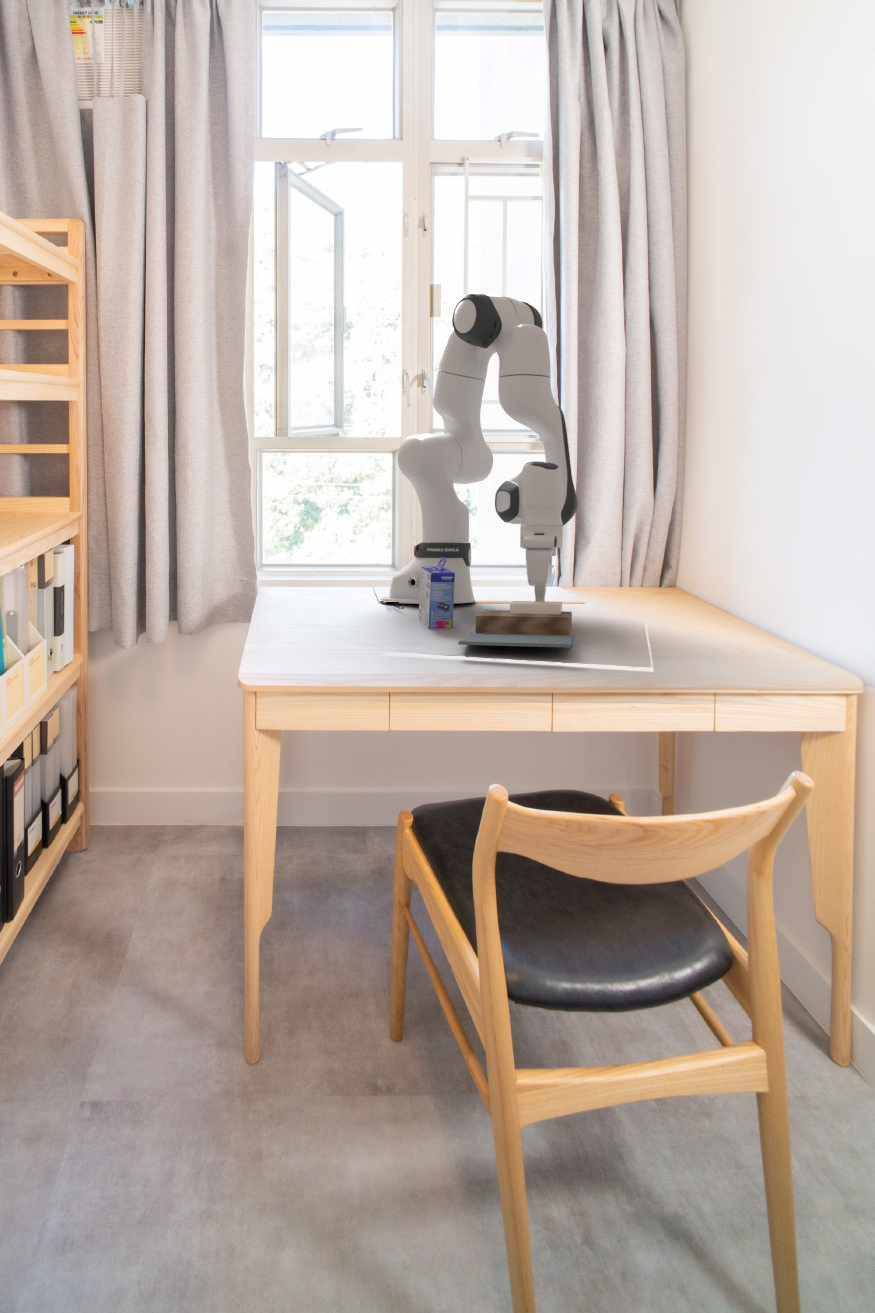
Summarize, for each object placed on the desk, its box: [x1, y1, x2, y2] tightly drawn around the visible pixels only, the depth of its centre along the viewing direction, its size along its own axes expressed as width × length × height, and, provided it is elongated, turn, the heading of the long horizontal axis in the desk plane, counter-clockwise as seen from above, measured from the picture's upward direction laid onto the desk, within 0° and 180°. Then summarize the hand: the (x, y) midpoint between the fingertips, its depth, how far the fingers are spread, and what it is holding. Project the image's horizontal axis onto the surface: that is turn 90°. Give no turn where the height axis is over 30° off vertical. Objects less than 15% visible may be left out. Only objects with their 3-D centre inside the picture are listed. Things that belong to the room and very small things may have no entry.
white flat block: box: [509, 600, 563, 614], centre depth 191 cm, size 10×7×2 cm
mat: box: [457, 632, 575, 648], centre depth 175 cm, size 20×15×1 cm
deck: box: [474, 609, 573, 635], centre depth 189 cm, size 18×14×4 cm
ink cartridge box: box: [418, 557, 455, 630], centre depth 196 cm, size 10×6×14 cm, turn 14°
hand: (540, 605), depth 201 cm, fingers closed
